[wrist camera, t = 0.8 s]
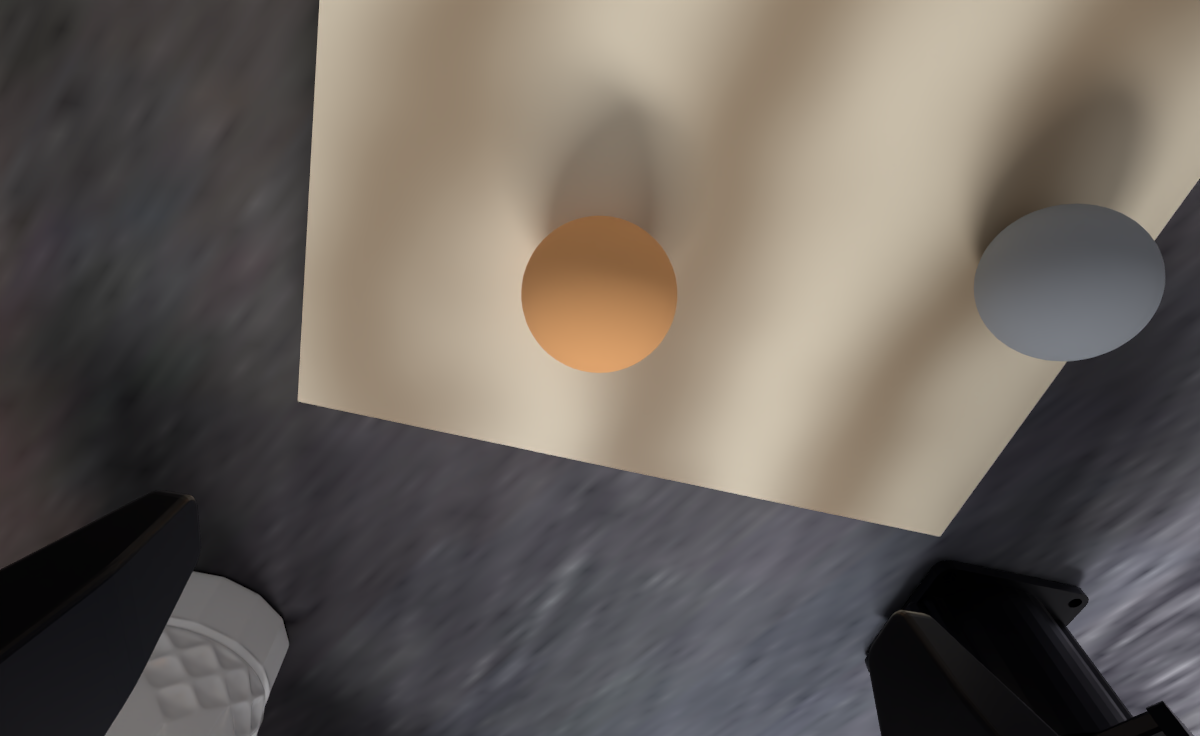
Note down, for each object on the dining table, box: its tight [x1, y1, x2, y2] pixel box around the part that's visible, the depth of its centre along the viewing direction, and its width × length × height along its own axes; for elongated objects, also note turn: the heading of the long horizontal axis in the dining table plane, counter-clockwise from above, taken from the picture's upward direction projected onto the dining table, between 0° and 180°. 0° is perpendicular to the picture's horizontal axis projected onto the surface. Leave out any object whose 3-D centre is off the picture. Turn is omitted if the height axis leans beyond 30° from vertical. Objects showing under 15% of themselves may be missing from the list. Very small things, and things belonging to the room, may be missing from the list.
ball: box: [521, 216, 677, 373], centre depth 15 cm, size 4×4×4 cm
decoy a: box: [974, 204, 1165, 361], centre depth 15 cm, size 4×4×4 cm
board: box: [298, 0, 1200, 537], centre depth 15 cm, size 20×24×2 cm
